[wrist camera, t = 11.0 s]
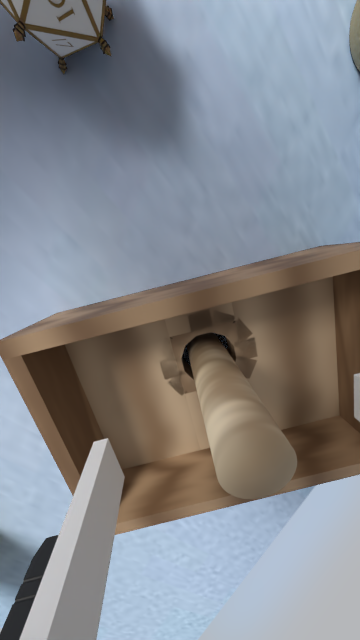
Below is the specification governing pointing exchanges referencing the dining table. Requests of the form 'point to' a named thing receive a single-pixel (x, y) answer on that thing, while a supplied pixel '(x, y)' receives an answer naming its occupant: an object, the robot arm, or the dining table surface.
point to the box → (178, 382)
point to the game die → (61, 24)
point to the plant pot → (355, 34)
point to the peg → (238, 425)
